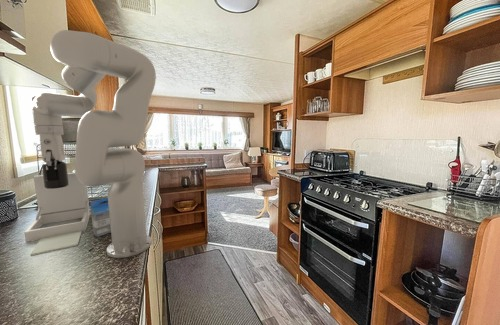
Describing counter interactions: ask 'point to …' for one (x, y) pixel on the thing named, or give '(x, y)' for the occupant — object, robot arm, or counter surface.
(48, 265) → the counter surface
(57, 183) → the supplement bottle
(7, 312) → the counter surface
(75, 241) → the mat
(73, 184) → the white open box
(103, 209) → the label tape box
